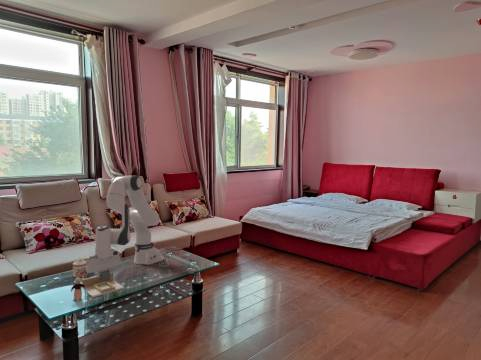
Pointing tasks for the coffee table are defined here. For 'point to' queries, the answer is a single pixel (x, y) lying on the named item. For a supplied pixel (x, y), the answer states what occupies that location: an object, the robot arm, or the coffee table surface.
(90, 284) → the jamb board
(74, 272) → the teacup with lid
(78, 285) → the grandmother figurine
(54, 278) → the coffee table surface
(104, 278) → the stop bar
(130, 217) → the robot arm
